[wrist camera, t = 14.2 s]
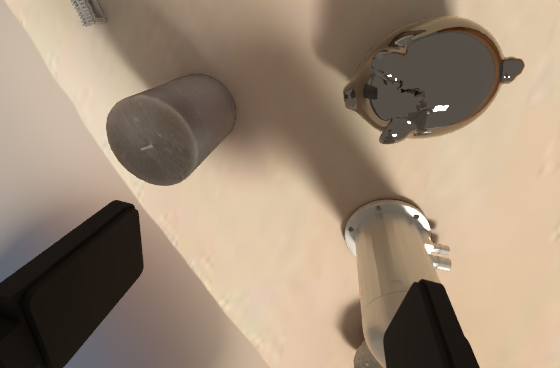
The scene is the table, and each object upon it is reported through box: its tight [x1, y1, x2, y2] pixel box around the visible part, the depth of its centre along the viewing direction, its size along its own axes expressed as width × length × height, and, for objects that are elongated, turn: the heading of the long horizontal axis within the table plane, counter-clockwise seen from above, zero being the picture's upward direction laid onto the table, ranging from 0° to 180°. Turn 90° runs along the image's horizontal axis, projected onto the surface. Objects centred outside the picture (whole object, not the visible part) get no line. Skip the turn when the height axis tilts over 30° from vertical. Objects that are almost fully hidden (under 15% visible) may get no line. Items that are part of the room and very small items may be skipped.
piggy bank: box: [343, 16, 525, 144], centre depth 29 cm, size 11×15×12 cm
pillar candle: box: [106, 74, 236, 186], centre depth 34 cm, size 10×10×15 cm
